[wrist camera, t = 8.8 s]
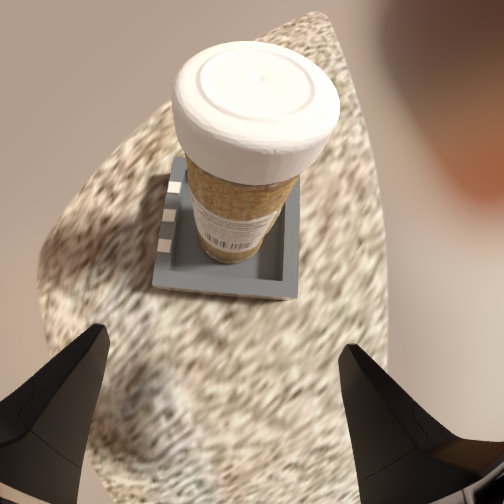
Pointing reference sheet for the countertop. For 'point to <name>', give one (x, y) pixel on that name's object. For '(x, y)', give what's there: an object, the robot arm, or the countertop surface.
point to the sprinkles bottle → (248, 137)
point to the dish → (217, 273)
